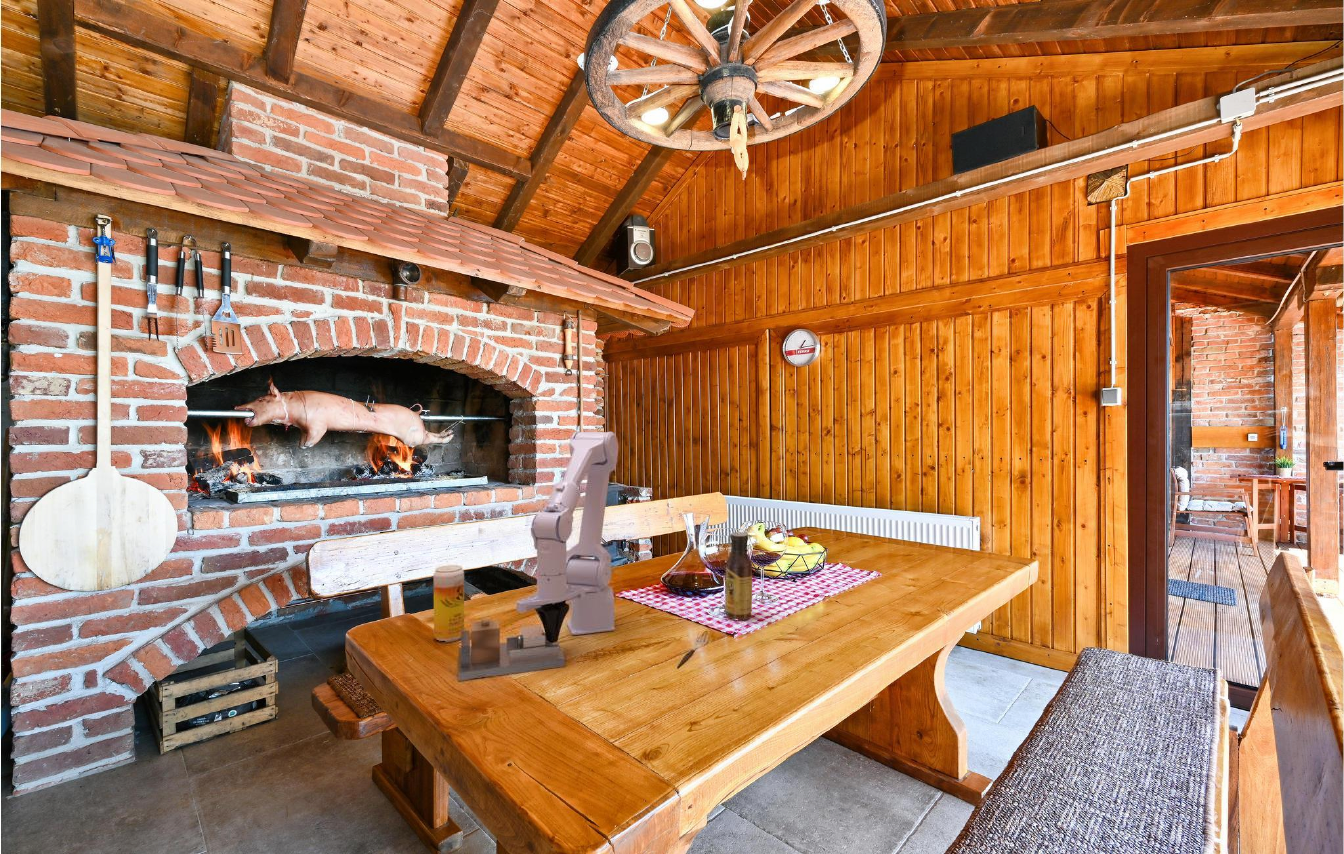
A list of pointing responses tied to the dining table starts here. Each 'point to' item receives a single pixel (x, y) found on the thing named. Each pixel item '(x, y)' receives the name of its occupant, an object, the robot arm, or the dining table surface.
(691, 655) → the fork
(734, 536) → the sauce bottle
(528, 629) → the ram
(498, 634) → the block
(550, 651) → the press frame
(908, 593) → the dining table surface
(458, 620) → the beer can
